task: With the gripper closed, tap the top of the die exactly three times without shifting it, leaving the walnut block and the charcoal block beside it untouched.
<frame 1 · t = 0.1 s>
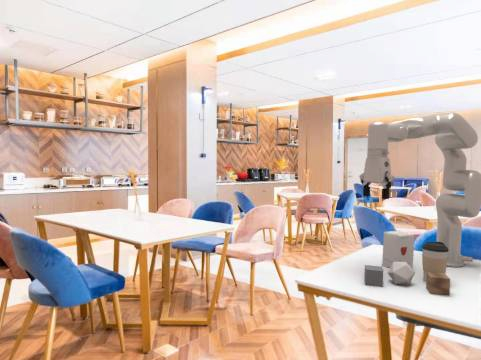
hand: (375, 197, 142), 31 cm above the table, tool pointing down, fingers open, 9 cm apart
walnut block: (437, 292, 126), on the table
die: (400, 283, 134), on the table
charcoal block: (373, 283, 133), on the table
coffee cup: (433, 282, 137), on the table
supplement box: (397, 267, 155), on the table
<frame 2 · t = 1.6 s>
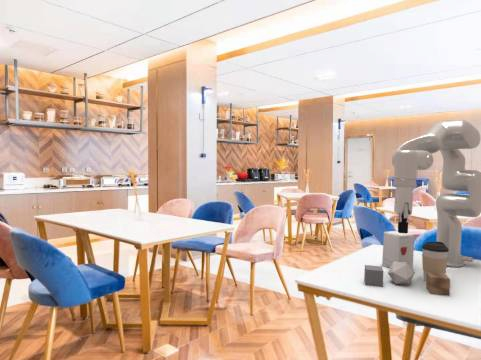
hand: (402, 232, 133), 19 cm above the table, tool pointing down, fingers closed
nothing on the table moved.
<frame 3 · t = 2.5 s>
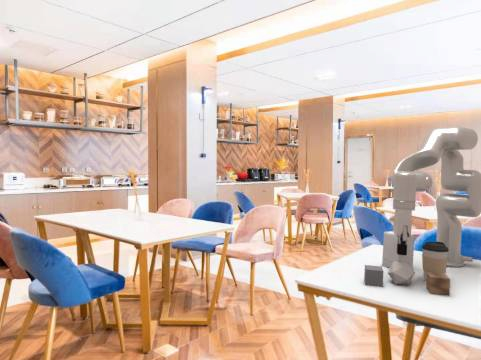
hand: (401, 254, 134), 11 cm above the table, tool pointing down, fingers closed
nothing on the table moved.
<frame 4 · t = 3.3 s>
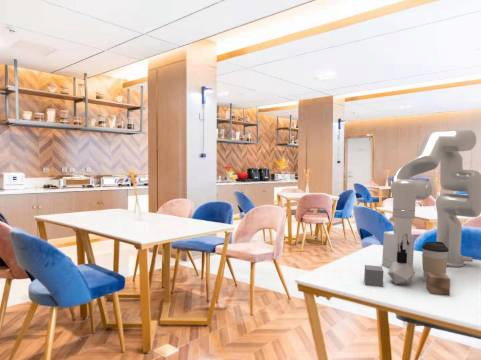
hand: (401, 262, 134), 8 cm above the table, tool pointing down, fingers closed
nothing on the table moved.
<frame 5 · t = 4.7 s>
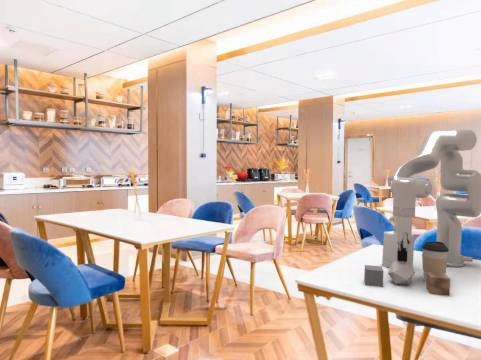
hand: (402, 260, 134), 8 cm above the table, tool pointing down, fingers closed
nothing on the table moved.
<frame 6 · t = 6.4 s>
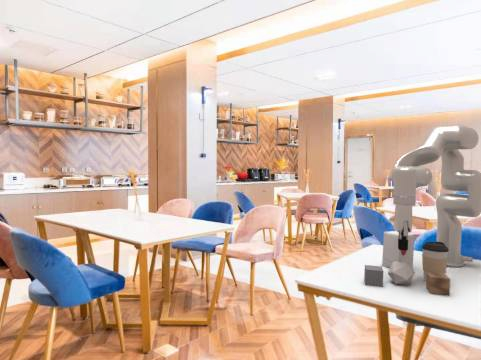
hand: (402, 249, 134), 13 cm above the table, tool pointing down, fingers closed
nothing on the table moved.
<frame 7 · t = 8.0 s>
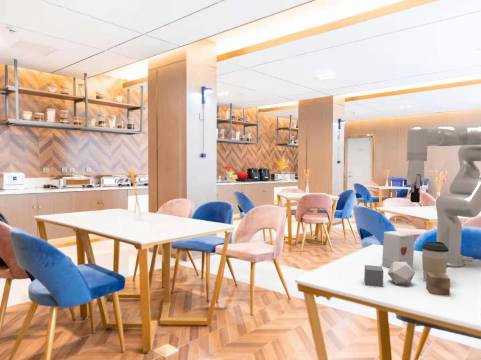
hand: (414, 202, 148), 29 cm above the table, tool pointing down, fingers closed
nothing on the table moved.
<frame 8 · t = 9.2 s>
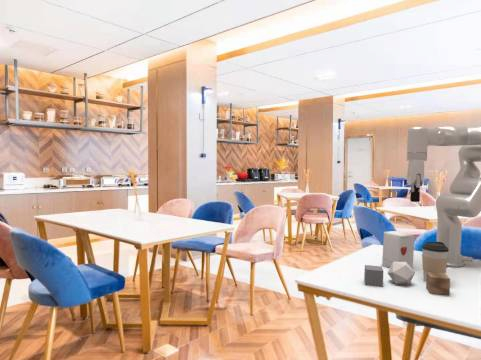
hand: (414, 201, 148), 29 cm above the table, tool pointing down, fingers closed
nothing on the table moved.
at the end: die moved 0.2 cm from its start; die tilted 0°; charcoal block moved 0.1 cm from its start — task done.
